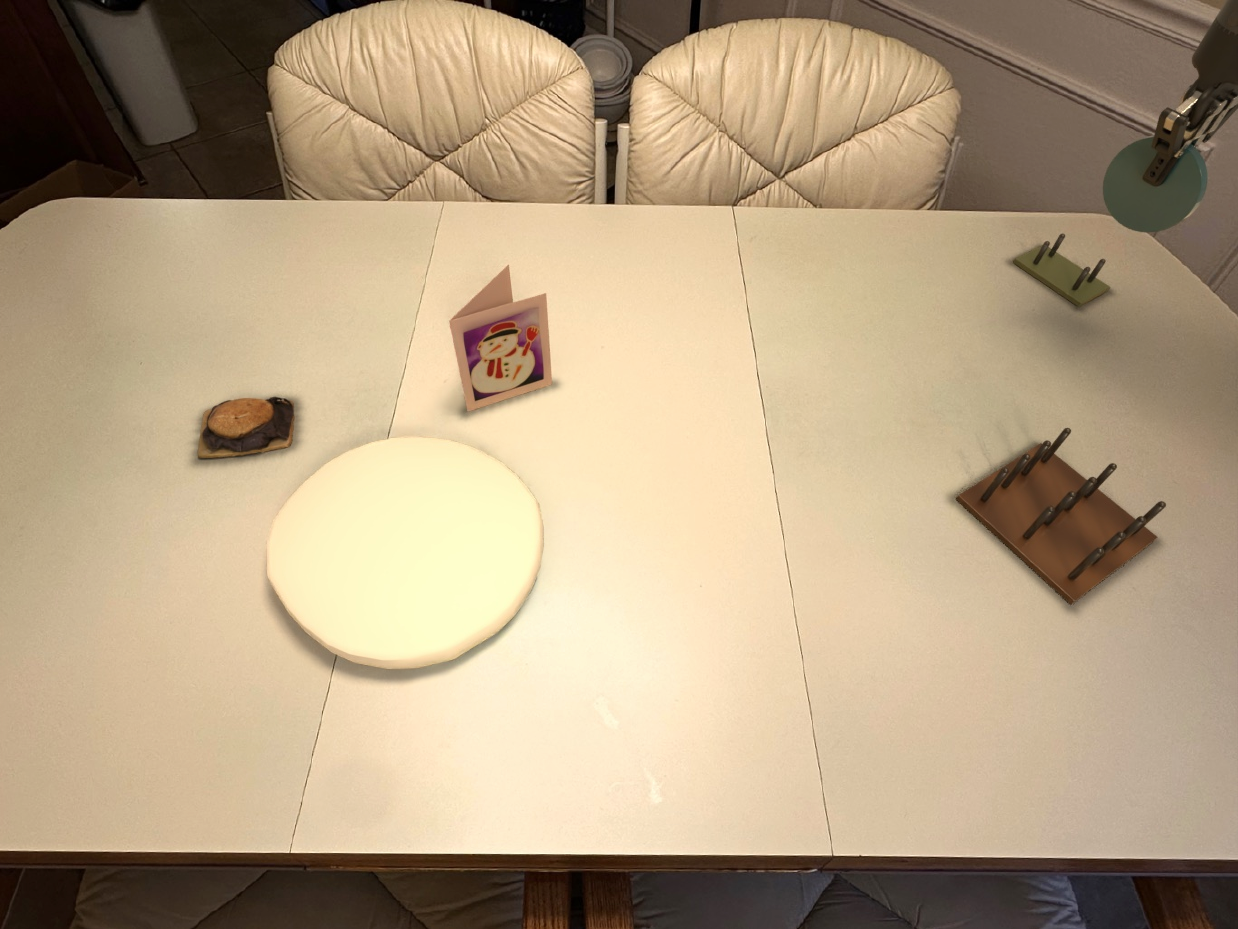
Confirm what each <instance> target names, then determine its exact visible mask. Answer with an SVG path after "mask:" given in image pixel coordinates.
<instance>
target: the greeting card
mask: <svg viewBox="0 0 1238 929" xmlns="http://www.w3.org/2000/svg"><path fill="white" fill-rule="evenodd" d="M512 288H513V287H512V279H511V271H510V264H507V265H506V266H505V267H504V268H502V269H501V271H499V272H498V273H497V274H496V276H495V277H493V278H492V279H491V280H490V281H489V282H488V283H487V284H486V285H485V286H484V287H482V289H481V290H480V291H479V292H477V293H476V295H474V296H473V298H472V299H470V300H469V301H468V302H467V303H466V304H465V305H464V306H463V307H462V308H461V309H460V310H459V311H458V312H457V313H456V314H455V315H453V316H452V317H450V319H449V320H448V322H449V323H448V324H449V327H450V332H451V338H452V342H453V347H454V351H455V358H456V361H457V366H458V371H459V375H460V380H461V385H462V391H463V396H464V399H465V405H466V411H467V412H471V411H474V410H478V409H480V408H483V407H484V408H485V407H486V406H489V405H493V404H495V403H500V402H501V401H505V400H508V399H512V398H515V397H517V396H520V395H524V394H526V393H529V392H533V391H535V390H539V389H542V388H545V387H548V386H551V385H553V377H552V359H551V345H550V330H549V315H548V299H547V292H545V293H542V294H541V293H540V294H538V295H534V296H531V297H527V298H524V299H521V300H517V301H514V299H513V290H512Z"/></svg>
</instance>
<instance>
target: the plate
mask: <svg viewBox="0 0 1238 929" xmlns="http://www.w3.org/2000/svg"><path fill="white" fill-rule="evenodd" d="M541 512H542V511H541V507H540V502H539V501H538V500H537V499H536V497H535V496H534V495H533V494H532V492H531V491H530V490H529V488H528V487H527V486H526V484H525V483H524V482H523V481H522V480H521V478H520V477H519V475H517V474H516V473H515V472H514V471H513V470H512V469H510V468H509V467H508V466H507V465H505V464H504V463H503V462H502V461H500V460H498V459H496V458H494V457H492V456H490V455H489V454H486V453H484V452H483V451H481V450H479V449H477V448H475V447H473V446H471V445H468V444H466V443H462V442H458V441H455V440H452V439H445V438H444V439H443V438H438V437H437V438H436V437H427V436H398V437H397V436H396V437H391V438H386V439H380V440H374V441H371V442H368V443H366V444H363V445H360V446H358V447H354V448H352V449H350V450H346V451H344V452H343V453H341V454H340V455H338V456H336V457H334V458H333V459H331V460H330V461H328V462H326V463H324V464H323V465H322V466H321V467H320V468H318V469H317V470H316V471H315V472H314V473H313V474H312V475H311V476H309V477H308V478H307V479H306V480H305V481H303V482H302V483H301V484H300V486H298V488H297V489H296V490H295V491H294V492H293V493H292V494H291V496H289V497H288V499H287V500H286V501H285V503H284V504H283V506H282V507H281V508H280V510H279V511H278V513H277V514H276V516H275V517H274V518H273V520H272V522H271V525H270V528H269V531H268V534H267V537H266V542H265V546H266V547H265V548H266V550H265V551H266V575H267V580H268V582H269V583H270V585H271V587H272V589H273V590H274V592H275V593H276V595H277V597H278V598H279V600H280V601H281V603H282V604H283V606H284V608H285V609H286V611H287V613H288V614H289V616H290V617H291V618H292V619H293V620H294V621H295V622H296V623H297V624H298V626H300V628H301V629H302V630H303V631H304V632H305V633H306V634H307V635H309V636H310V637H311V638H313V639H314V640H315V641H316V642H317V643H319V644H320V645H321V646H323V647H324V648H325V649H327V650H328V651H329V652H331V653H332V654H334V655H336V656H338V657H341V658H343V659H345V660H348V661H350V662H352V663H355V664H357V665H366V666H370V667H375V668H381V669H387V670H401V669H403V670H405V669H418V668H423V667H428V666H432V665H436V664H440V663H445V662H449V661H453V660H456V659H458V658H459V657H460V656H462V655H463V654H465V653H467V652H468V651H470V650H472V649H473V648H475V647H476V646H478V645H480V644H482V643H483V642H484V641H486V640H488V639H489V638H491V637H492V636H495V635H496V634H498V633H499V632H500V631H501V630H502V629H503V628H504V627H505V626H506V625H507V624H508V623H509V622H510V621H511V620H512V619H513V618H514V617H515V616H516V615H517V613H518V611H519V610H520V609H521V607H522V606H523V604H524V603H525V601H526V599H527V598H528V596H529V595H530V594H531V592H532V591H533V588H534V585H535V583H536V580H537V578H538V575H539V573H540V570H541V565H542V559H543V553H544V546H545V542H544V541H545V540H544V539H545V538H544V537H545V536H544V533H545V532H544V530H545V529H544V522H543V517H542V513H541Z"/></svg>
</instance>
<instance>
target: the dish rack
mask: <svg viewBox="0 0 1238 929" xmlns="http://www.w3.org/2000/svg"><path fill="white" fill-rule="evenodd" d="M1071 433H1072V429H1071V427H1065V428H1063V430H1062V431H1061V432H1060V433H1059V435H1058V436H1057V437H1056V438H1055V440H1054V441H1053V442H1051V440H1048V439H1047V440H1044V441H1043V442H1041V443H1039V444H1037V445H1036V446H1034V447H1033V448H1031V449H1029V450H1028V451H1026V452H1024V453H1023V454H1021V455H1020V456H1018V457H1017V458H1015V459H1013V460H1012V461H1010V462H1008V463H1007V464H1005V465H1003V467H1000V468H999V469H997V470H996V471H994V472H993V473H991V474H989V475H988V476H987V477H985V478H983V479H982V480H980V481H979V482H977V483H976V484H974V485H972V486H971V487H968V489H966V490H964V491H962V492H961V493H960V494H958V495H957V496H956V498H955V500H956V501H957V502H959V504H961V505H962V506H963V507H964V508H965V509H966V510H967V511H969V513H970V514H971V515H973V517H975V518H976V519H977V520H978V521H979V522H980V523H981V524H982V525H983V526H984V527H986V529H988V530H989V531H990V532H991V533H992V534H993V535H994V536H996V538H997V539H999V540H1000V541H1001V542H1002V543H1003V544H1004V545H1005V546H1006V547H1007V548H1009V549H1010V550H1011V551H1012V552H1013V553H1014V554H1015V555H1016V556H1017V557H1018V558H1020V560H1021V561H1022V562H1024V563H1025V564H1026V565H1027V566H1028V567H1029V568H1030V569H1031V570H1033V571H1034V572H1035V573H1036V574H1037V575H1038V576H1039V577H1040V579H1042V580H1043V581H1044V582H1046V583H1047V585H1049V586H1050V588H1052V589H1053V590H1054V591H1056V593H1058V594H1059V595H1060V596H1061V597H1062V598H1063V599H1064V600H1066V601H1067V602H1068V603H1069V605H1072V604H1073V603H1075V602H1076V601H1077V600H1079V599H1081V597H1083V596H1084V595H1086V593H1088V592H1089V591H1091V590H1092V589H1093V588H1094V587H1095V586H1097V585H1098V584H1099V583H1101V582H1102V581H1104V580H1105V579H1106V578H1108V576H1110V575H1111V574H1112V573H1114V572H1115V571H1116V570H1118V569H1119V568H1121V567H1122V566H1123V565H1125V564H1126V563H1127V562H1128V561H1130V560H1131V559H1132V558H1133V557H1135V556H1136V555H1138V554H1140V552H1141V551H1143V550H1144V549H1146V548H1147V547H1148V546H1149V545H1150V544H1152V543H1153V542H1154V541H1155V540H1157V539H1158V536H1157V535H1156V534H1155V533H1154V532H1152V531H1151V530H1150V529H1148V528H1147V527H1146V525H1148V524H1149V523H1150V522H1151V521H1152V520H1153V519H1154V518H1155V517H1156V516H1158V514H1160V513H1161V512H1163V510H1164V509H1165V508H1166V507H1167V503H1166V502H1165V501H1163V500H1159V501H1158V502H1156V503H1155V505H1153V507H1151V508H1150V509H1149V510H1148V511H1147V512H1146V513H1144V514H1143V515H1139V516H1137V518H1135V517H1134V516H1132V515H1131V514H1130V513H1129V512H1127V511H1126V510H1125V509H1124V508H1123V507H1121V506H1120V505H1119V504H1118V503H1116V502H1115V501H1114V500H1112V499H1111V498H1110V497H1109V496H1108V495H1107V494H1105V493H1104V492H1102V491H1101V490H1100V489H1099V488H1100V487H1101V486H1102V485H1103V483H1104V482H1106V480H1108V478H1109V477H1110V476H1111V475H1112V474H1113V473H1114V472H1115V471H1116V470H1117V468H1118V465H1117V464H1116V463H1115V462H1110V463H1109V464H1108V465H1107V467H1105V469H1104V470H1102V472H1101V473H1100V474H1099V475H1098V476H1097V477H1095V476H1089V477H1088V479H1087V478H1085V477H1084V476H1083V475H1081V474H1080V473H1079V472H1078V471H1077V470H1075V469H1074V468H1073V467H1071V466H1070V465H1069V464H1068V463H1067V462H1066V461H1064V460H1063V459H1061V458H1060V457H1059V456H1058V455H1057V454H1056V452H1057V450H1058V449H1060V447H1061V446H1062V444H1064V442H1065V441H1066V440H1067V438H1068V437H1069V436H1070V434H1071Z"/></svg>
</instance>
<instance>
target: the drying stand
mask: <svg viewBox="0 0 1238 929" xmlns="http://www.w3.org/2000/svg"><path fill="white" fill-rule="evenodd" d="M1065 238H1066V234H1065V233H1060V234H1059V235H1058V236H1057V239H1056V240H1055V242H1054V243H1053V245H1052V247H1050V245H1051V242H1050V241H1049V240H1045V241H1043V244H1042V245H1040V246H1038V247H1036V248H1033V249H1031V250H1029V251H1027V252H1025V253H1023V254H1022V255H1021V254H1020V255H1019V256H1017V257H1015V258H1014V259H1013V261H1012V264H1014V265H1015V266H1017V267H1019V269H1022V270H1023V271H1024V272H1026V273H1028V274H1029V275H1031V277H1033V278H1035V279H1037V281H1039V282H1040V283H1042V284H1044V285H1045V286H1046V287H1048V288H1050V289H1051V290H1053V291H1054V292H1056V293H1057V294H1059V295H1060V296H1062V297H1063V298H1065V299H1066V300H1068V301H1069V302H1070V303H1072V304H1073V305H1075V306H1076V307H1078V308H1079V307H1082V306H1084V305H1085V304H1087V303H1089V302H1090V301H1092V300H1094V299H1096V298H1098V297H1099V296H1101V295H1103V294H1105V293H1107V292H1108V291H1109V290H1110V288H1111V286H1110V285H1108V284H1106V283H1105V282H1103V281H1102V280H1101V279H1099V278H1097V276H1098V275H1099V273H1100V271H1101V270H1102V268H1104V265H1105V264H1106V262H1107V260H1106V258H1100V260H1098V262H1097V264H1096V265H1095V267H1093V268H1094V269H1093V270H1092V271H1091V267H1089V266H1085V267H1084V268H1082V267H1081V266H1078V265H1077V264H1076V263H1074V262H1073V261H1071V260H1070V259H1068V258H1067V257H1066V256H1065V257H1064V256H1063V255H1061V253H1058V250H1059V248H1060V247H1061V245H1062V243H1063V241H1064V239H1065ZM1090 272H1091V273H1090Z"/></svg>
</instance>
